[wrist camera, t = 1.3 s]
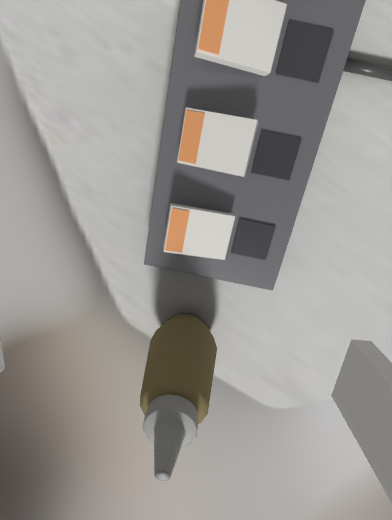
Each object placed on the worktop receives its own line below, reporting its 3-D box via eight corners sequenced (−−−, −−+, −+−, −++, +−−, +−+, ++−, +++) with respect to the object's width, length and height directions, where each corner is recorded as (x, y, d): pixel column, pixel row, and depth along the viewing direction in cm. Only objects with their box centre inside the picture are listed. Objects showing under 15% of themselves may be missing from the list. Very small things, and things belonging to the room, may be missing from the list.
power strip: (424, 27, 25) (467, 0, 21) (323, 287, 34) (339, 306, 30) (192, -22, 25) (187, -59, 21) (151, 252, 34) (142, 266, 30)
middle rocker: (258, 122, 24) (257, 119, 22) (245, 176, 25) (243, 176, 24) (190, 110, 25) (185, 107, 23) (181, 162, 26) (176, 162, 25)
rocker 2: (280, 11, 22) (287, 3, 21) (264, 76, 23) (270, 72, 22) (205, -14, 21) (208, -24, 20) (194, 56, 22) (196, 51, 21)
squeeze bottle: (151, 306, 36) (96, 435, 20) (214, 302, 36) (213, 432, 19) (160, 358, 39) (119, 511, 22) (219, 356, 38) (222, 512, 21)
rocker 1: (231, 213, 27) (235, 216, 26) (221, 255, 29) (224, 260, 28) (170, 203, 26) (171, 205, 25) (163, 247, 28) (163, 252, 26)
